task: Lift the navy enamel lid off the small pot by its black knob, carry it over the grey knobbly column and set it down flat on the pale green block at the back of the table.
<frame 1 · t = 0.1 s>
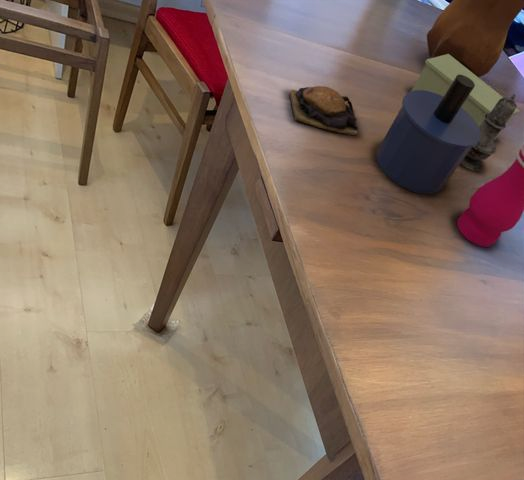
lid: (440, 120, 79), point 8 cm above the table, touching pot
butternut squash: (446, 73, 110), on the table
pot: (409, 168, 85), on the table
pastry on board: (322, 115, 86), on the table
pepper mill: (474, 232, 82), on the table
pale green block: (453, 115, 100), on the table
grey knobbly column: (466, 160, 93), on the table
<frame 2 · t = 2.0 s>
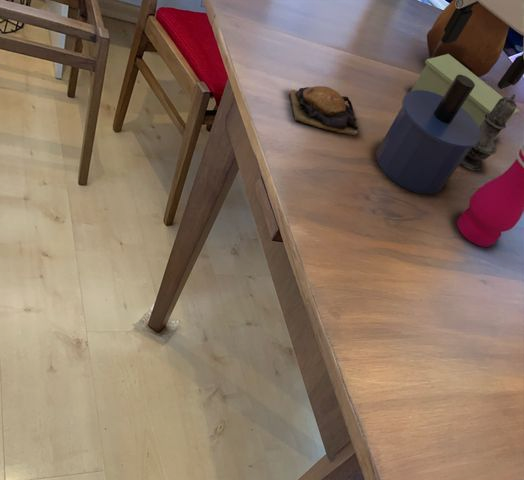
hand: (475, 63, 72), 17 cm above the table, tool pointing down, fingers open, 9 cm apart
nothing on the table moved.
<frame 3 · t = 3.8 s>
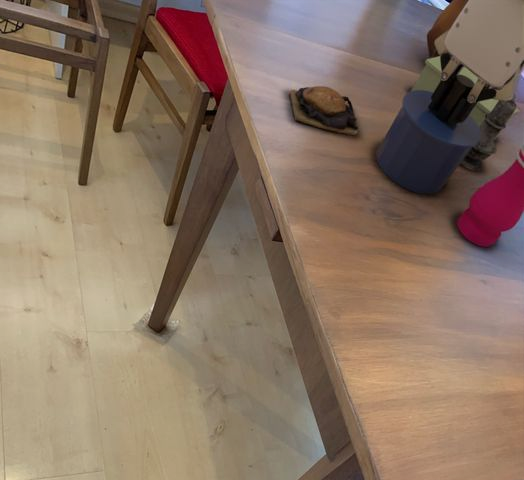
hand: (444, 114, 78), 9 cm above the table, tool pointing down, fingers closed on lid, 2 cm apart
lid: (440, 120, 79), point 9 cm above the table, touching gripper, pot
everything else where it was.
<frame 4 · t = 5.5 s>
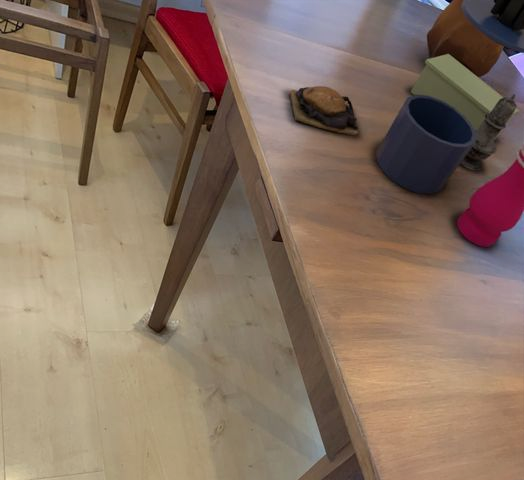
hand: (508, 19, 70), 22 cm above the table, tool pointing down, fingers closed on lid, 2 cm apart
lid: (504, 26, 71), point 21 cm above the table, touching gripper
everything else where it was.
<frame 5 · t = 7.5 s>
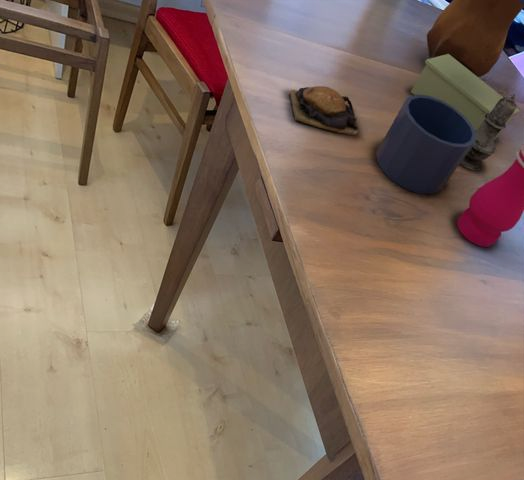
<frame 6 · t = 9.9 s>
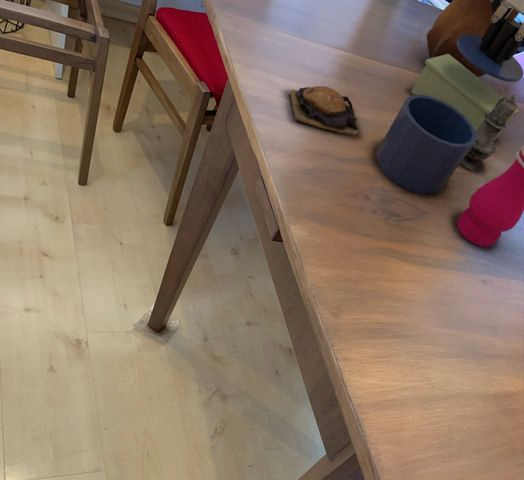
hand: (492, 53, 91), 11 cm above the table, tool pointing down, fingers closed on lid, 2 cm apart
lid: (489, 59, 92), point 11 cm above the table, touching gripper
everything else where it was.
when the fingers open (7 cm above the table, at t = 11.1 s): lid stays where it is, resting on pale green block.
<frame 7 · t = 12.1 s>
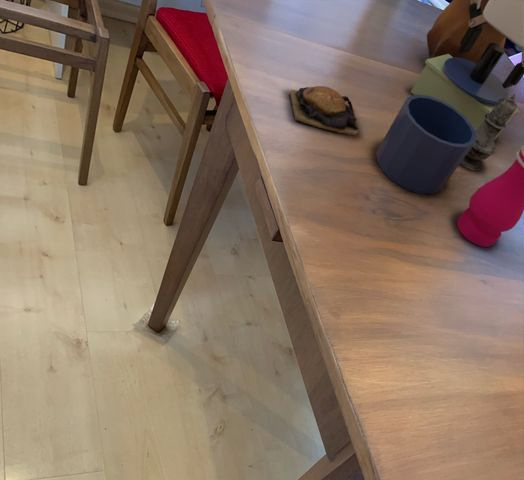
hand: (484, 68, 93), 9 cm above the table, tool pointing down, fingers open, 9 cm apart
lid: (475, 81, 95), point 7 cm above the table, touching pale green block
everything else where it was.
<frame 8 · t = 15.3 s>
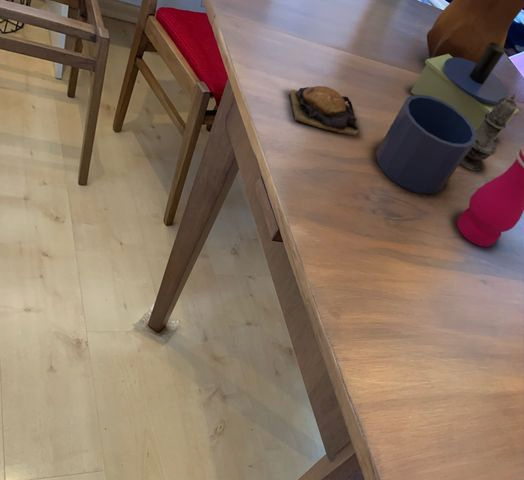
nothing on the table moved.
at the end: lid inside the target area on the pale green block (0.1 cm from its centre), point 6.6 cm above the pale green block's base; lid tilted 0°; the gripper is holding nothing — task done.
